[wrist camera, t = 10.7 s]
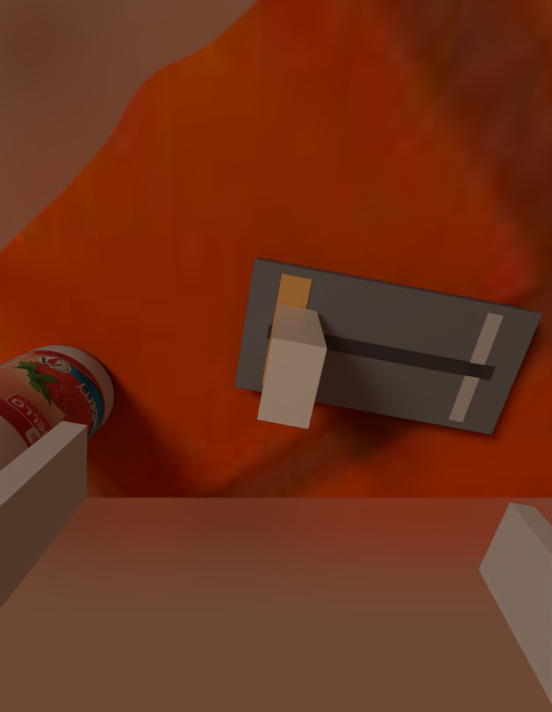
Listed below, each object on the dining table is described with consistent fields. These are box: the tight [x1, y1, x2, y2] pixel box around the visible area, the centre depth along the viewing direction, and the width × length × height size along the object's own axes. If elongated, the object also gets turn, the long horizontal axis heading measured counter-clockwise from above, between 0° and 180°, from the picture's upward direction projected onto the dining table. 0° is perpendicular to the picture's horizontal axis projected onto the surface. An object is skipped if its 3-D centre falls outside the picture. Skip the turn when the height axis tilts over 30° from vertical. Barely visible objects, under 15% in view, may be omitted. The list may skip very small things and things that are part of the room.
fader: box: [257, 304, 327, 429], centre depth 26 cm, size 3×5×10 cm, turn 170°
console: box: [235, 257, 542, 435], centre depth 32 cm, size 23×11×3 cm, turn 80°
